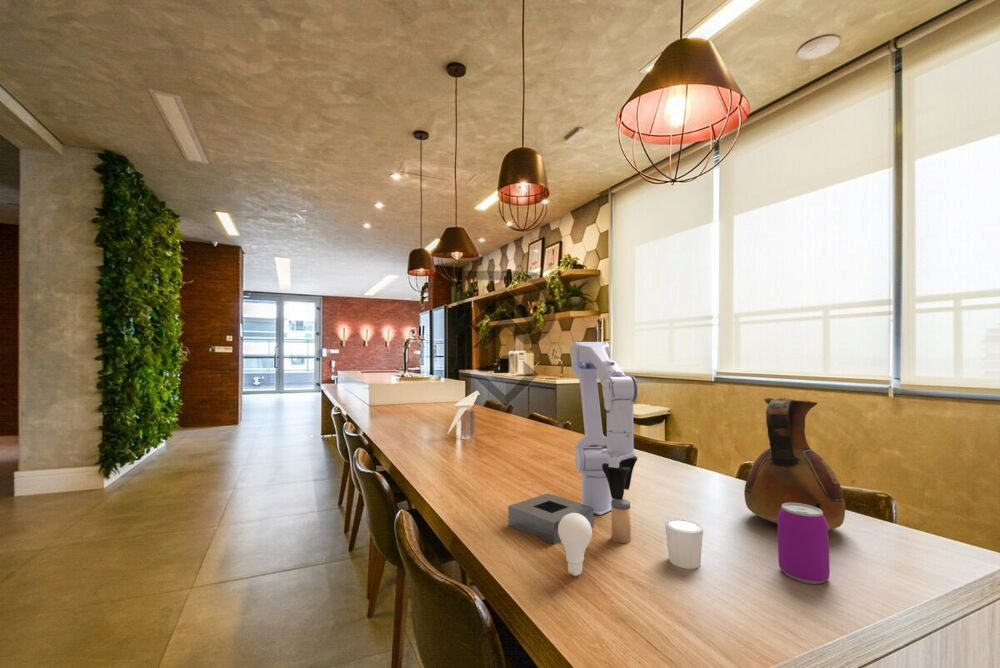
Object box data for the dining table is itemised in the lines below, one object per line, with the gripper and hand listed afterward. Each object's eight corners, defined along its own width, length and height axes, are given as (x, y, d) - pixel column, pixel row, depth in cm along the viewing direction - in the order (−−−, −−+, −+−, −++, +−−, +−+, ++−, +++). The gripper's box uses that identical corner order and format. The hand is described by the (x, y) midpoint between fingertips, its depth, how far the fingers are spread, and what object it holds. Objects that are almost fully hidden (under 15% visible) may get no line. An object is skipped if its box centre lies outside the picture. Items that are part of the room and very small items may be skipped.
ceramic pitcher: (850, 524, 104) (846, 397, 105) (840, 552, 89) (835, 404, 91) (757, 504, 117) (754, 392, 119) (735, 526, 103) (732, 397, 104)
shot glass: (702, 556, 87) (701, 520, 87) (706, 573, 81) (705, 534, 81) (665, 551, 89) (664, 516, 90) (666, 566, 83) (665, 529, 83)
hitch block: (548, 511, 112) (547, 493, 112) (593, 527, 102) (593, 507, 102) (508, 525, 103) (508, 505, 103) (554, 544, 92) (553, 522, 93)
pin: (618, 533, 98) (617, 497, 98) (634, 539, 95) (633, 502, 95) (608, 538, 95) (607, 501, 96) (624, 544, 92) (623, 506, 93)
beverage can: (777, 561, 85) (776, 498, 86) (826, 571, 81) (824, 505, 82) (779, 579, 78) (777, 510, 79) (833, 590, 75) (830, 519, 75)
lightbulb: (592, 585, 76) (591, 521, 76) (557, 582, 77) (556, 518, 78) (592, 568, 82) (591, 509, 82) (559, 565, 83) (559, 506, 84)
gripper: (608, 424, 105) (609, 482, 104) (593, 434, 92) (594, 500, 91) (639, 427, 101) (640, 486, 101) (628, 437, 88) (629, 506, 88)
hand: (620, 493), depth 96 cm, fingers open, 7 cm apart
